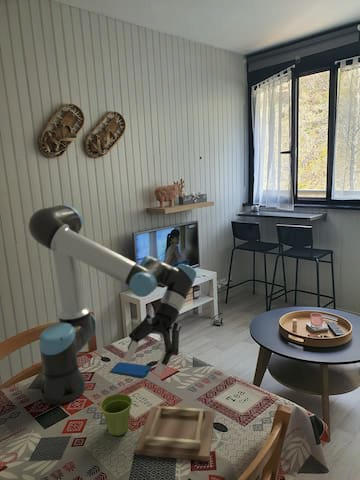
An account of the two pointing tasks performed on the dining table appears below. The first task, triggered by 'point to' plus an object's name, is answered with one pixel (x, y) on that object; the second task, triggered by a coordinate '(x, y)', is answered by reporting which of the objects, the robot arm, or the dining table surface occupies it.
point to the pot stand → (177, 433)
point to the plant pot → (116, 413)
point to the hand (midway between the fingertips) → (141, 367)
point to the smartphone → (131, 369)
